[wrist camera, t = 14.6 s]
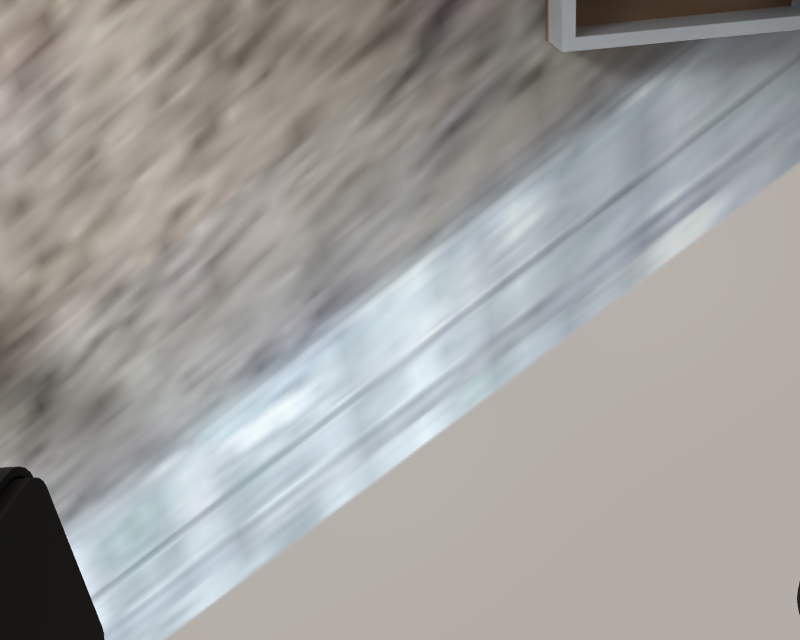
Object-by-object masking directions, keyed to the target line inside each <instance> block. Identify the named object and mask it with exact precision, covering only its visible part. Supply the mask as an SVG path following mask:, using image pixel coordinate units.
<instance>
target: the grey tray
mask: <svg viewBox="0 0 800 640" xmlns="http://www.w3.org/2000/svg"><path fill="white" fill-rule="evenodd" d="M792 30H800V0H792V1H791V6H784V7H773V8H763V9H753V10H742V11H732V12H722V13H712V14H701V15H691V16H681V17H671V18H660V19H650V20H640V21H630V22H619V23H609V24H599V25H588V26H578V27H576V0H548V40H549V43H551V44H552V45H553V46H555V47H556V48H557V49H558V50H560V51H561V52H571V51H582V50H592V49H603V48H613V47H624V46H634V45H645V44H655V43H666V42H676V41H687V40H697V39H708V38H718V37H729V36H739V35H750V34H760V33H771V32H781V31H792Z"/></svg>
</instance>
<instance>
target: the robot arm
mask: <svg viewBox="0 0 800 640" xmlns="http://www.w3.org/2000/svg"><path fill="white" fill-rule="evenodd" d="M797 603H798V609H799V614H800V583H799V588H798V594H797ZM0 640H104V632H103V628H102V625H101V623H100V620H99V618H98V615H97V613H96V610H95V608H94V605H93V603H92V600H91V598H90V595H89V593H88V590H87V587H86V585H85V582H84V580H83V577H82V575H81V572H80V570H79V567H78V565H77V562H76V560H75V557H74V555H73V552H72V550H71V547H70V544H69V542H68V539H67V537H66V534H65V532H64V529H63V527H62V524H61V522H60V519H59V517H58V514H57V512H56V509H55V507H54V504H53V502H52V499H51V496H50V494H49V491H48V489H47V487H46V485H45V483H44V481H42V480H41V479H40V478H33V476H32V474H31V473H30V472H29V471H28V470H27V469H26V468H23V467H5V468H0Z"/></svg>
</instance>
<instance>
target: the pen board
mask: <svg viewBox="0 0 800 640" xmlns="http://www.w3.org/2000/svg"><path fill="white" fill-rule="evenodd" d="M791 1H792V0H576V27H578V26H588V25H599V24H609V23H619V22H630V21H640V20H650V19H660V18H671V17H681V16H691V15H701V14H712V13H722V12H732V11H742V10H753V9H763V8H773V7H784V6H791ZM546 40H547V41H548V42H549V40H548V0H546Z"/></svg>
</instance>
